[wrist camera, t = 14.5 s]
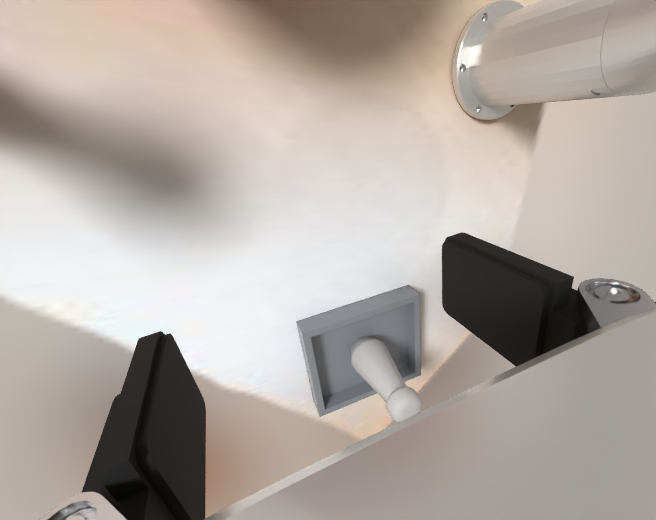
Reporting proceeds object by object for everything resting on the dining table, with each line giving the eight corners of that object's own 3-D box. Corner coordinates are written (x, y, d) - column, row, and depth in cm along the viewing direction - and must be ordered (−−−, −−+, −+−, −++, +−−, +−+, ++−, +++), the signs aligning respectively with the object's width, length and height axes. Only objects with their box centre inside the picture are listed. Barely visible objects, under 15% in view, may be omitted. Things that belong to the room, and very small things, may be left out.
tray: (408, 285, 48) (419, 294, 45) (410, 363, 55) (420, 375, 52) (296, 321, 43) (302, 333, 41) (314, 401, 50) (319, 416, 48)
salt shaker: (383, 330, 48) (436, 391, 37) (374, 360, 50) (423, 427, 39) (349, 331, 46) (395, 396, 35) (342, 363, 48) (383, 435, 37)
